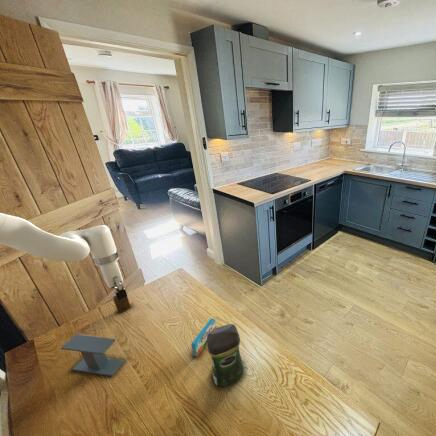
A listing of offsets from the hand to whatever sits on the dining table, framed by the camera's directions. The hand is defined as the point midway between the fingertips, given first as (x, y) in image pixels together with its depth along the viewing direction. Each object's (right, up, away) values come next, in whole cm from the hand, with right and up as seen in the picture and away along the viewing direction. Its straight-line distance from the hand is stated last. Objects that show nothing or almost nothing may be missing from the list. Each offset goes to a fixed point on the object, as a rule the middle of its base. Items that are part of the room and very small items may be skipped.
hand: (119, 292), depth 97 cm
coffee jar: (+50, -20, -20) cm, 58 cm away
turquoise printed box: (+39, -16, -10) cm, 43 cm away
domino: (0, -9, +4) cm, 10 cm away
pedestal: (+7, -19, -19) cm, 28 cm away
